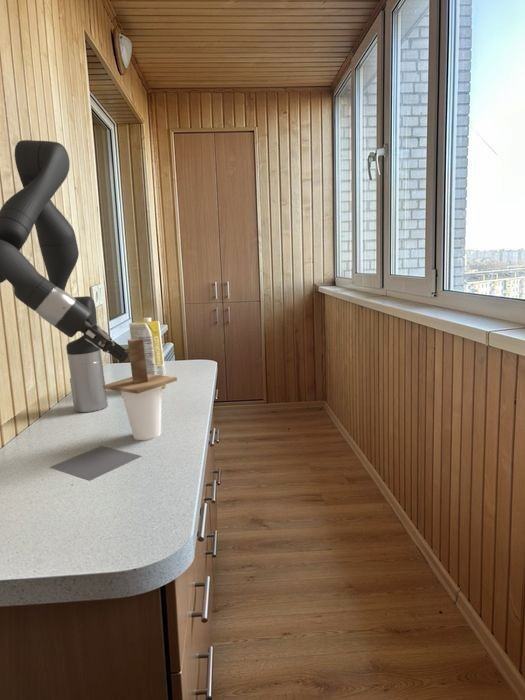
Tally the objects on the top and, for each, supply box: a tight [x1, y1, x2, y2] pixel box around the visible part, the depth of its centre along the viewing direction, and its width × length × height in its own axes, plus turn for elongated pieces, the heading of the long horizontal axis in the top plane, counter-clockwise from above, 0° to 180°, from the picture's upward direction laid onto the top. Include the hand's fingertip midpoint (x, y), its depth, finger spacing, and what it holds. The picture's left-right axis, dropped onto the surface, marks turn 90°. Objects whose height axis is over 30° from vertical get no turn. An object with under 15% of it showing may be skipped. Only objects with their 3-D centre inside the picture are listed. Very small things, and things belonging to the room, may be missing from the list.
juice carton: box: [128, 317, 168, 390], centre depth 161 cm, size 9×8×24 cm
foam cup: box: [120, 386, 163, 441], centre depth 115 cm, size 10×9×13 cm
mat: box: [49, 445, 142, 482], centre depth 103 cm, size 14×13×1 cm
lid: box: [103, 338, 178, 394], centre depth 113 cm, size 12×12×11 cm
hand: (124, 355), depth 112 cm, fingers open, 8 cm apart
